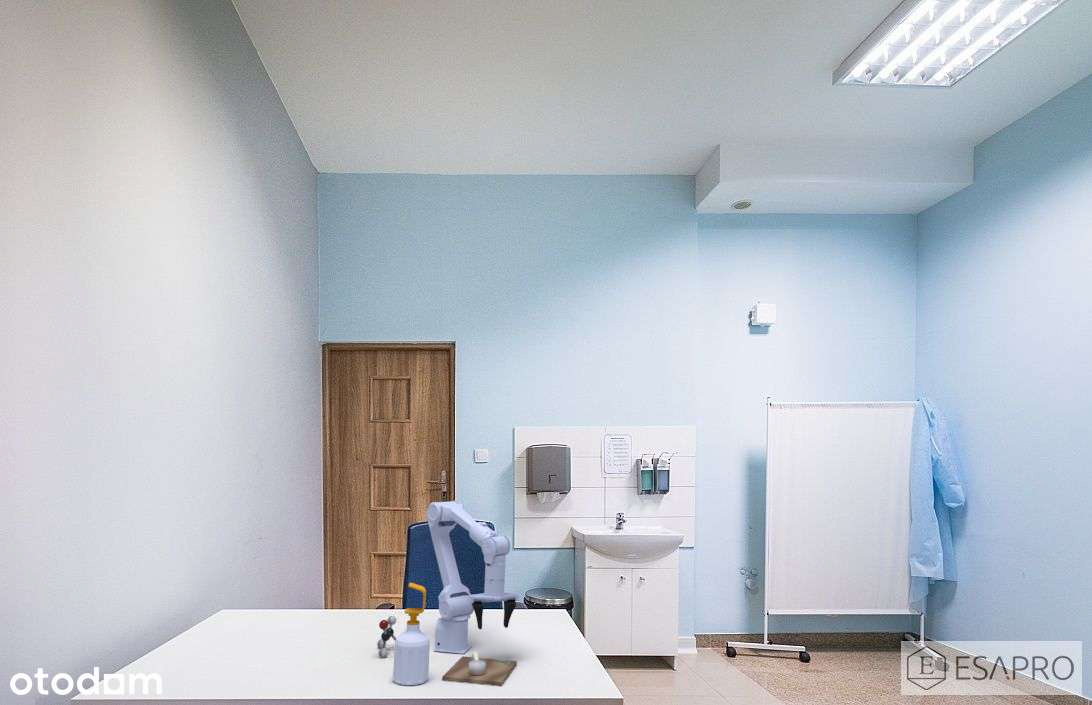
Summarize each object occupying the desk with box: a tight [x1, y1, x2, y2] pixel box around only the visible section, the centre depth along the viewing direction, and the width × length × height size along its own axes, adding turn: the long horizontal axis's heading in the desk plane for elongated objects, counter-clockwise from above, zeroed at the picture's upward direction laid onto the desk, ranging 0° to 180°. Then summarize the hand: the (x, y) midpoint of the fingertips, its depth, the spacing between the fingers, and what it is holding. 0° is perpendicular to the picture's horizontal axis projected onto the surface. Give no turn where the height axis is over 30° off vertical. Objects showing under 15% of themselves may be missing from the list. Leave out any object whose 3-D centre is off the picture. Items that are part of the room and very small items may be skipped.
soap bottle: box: [392, 582, 431, 686], centre depth 192 cm, size 9×9×25 cm
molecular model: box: [376, 615, 397, 659], centre depth 214 cm, size 8×12×11 cm
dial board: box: [441, 655, 518, 687], centre depth 199 cm, size 16×18×1 cm
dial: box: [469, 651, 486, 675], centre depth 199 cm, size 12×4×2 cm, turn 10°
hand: (492, 627), depth 209 cm, fingers open, 7 cm apart
